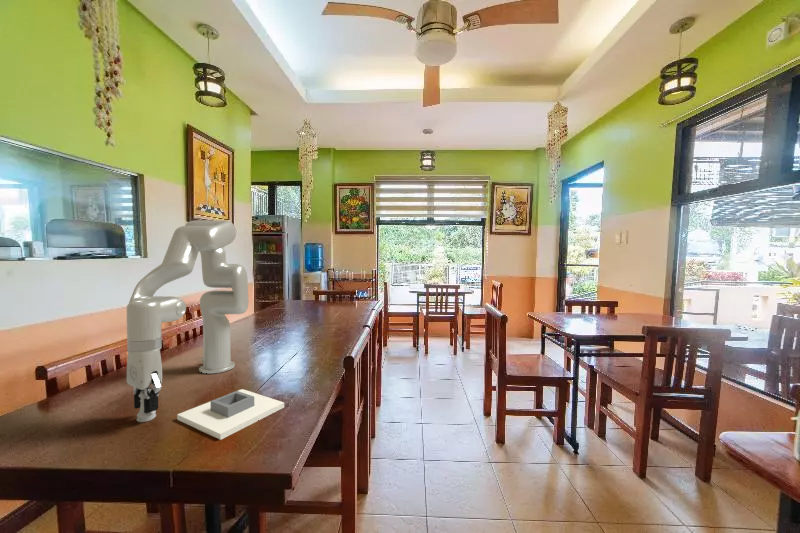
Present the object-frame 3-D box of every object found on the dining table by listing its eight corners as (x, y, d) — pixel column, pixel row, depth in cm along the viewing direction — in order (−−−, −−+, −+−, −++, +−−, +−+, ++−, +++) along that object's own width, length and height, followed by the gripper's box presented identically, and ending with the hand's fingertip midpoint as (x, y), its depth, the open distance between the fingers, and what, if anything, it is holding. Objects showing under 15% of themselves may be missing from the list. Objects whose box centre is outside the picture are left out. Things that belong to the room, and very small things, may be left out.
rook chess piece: (160, 416, 93) (159, 388, 93) (143, 424, 89) (142, 395, 88) (149, 413, 94) (148, 386, 94) (132, 421, 90) (131, 392, 90)
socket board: (177, 419, 91) (177, 404, 91) (242, 393, 109) (242, 380, 108) (220, 439, 81) (220, 423, 81) (284, 407, 99) (284, 393, 99)
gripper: (114, 343, 92) (116, 407, 92) (144, 352, 83) (145, 422, 84) (145, 337, 98) (146, 397, 99) (175, 345, 90) (177, 410, 91)
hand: (146, 408), depth 91 cm, fingers open, 4 cm apart
